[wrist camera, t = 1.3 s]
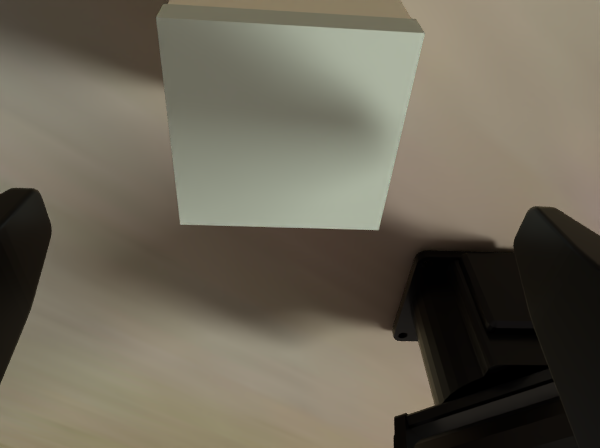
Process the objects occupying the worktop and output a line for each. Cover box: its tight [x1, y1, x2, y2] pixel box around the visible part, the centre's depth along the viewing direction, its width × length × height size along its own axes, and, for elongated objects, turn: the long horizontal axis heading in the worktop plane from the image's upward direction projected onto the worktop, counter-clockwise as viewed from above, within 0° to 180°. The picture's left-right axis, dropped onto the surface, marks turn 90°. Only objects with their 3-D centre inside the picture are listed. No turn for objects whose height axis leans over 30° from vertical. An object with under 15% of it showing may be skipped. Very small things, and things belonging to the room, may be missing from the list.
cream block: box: [156, 0, 425, 230], centre depth 14 cm, size 5×5×7 cm
